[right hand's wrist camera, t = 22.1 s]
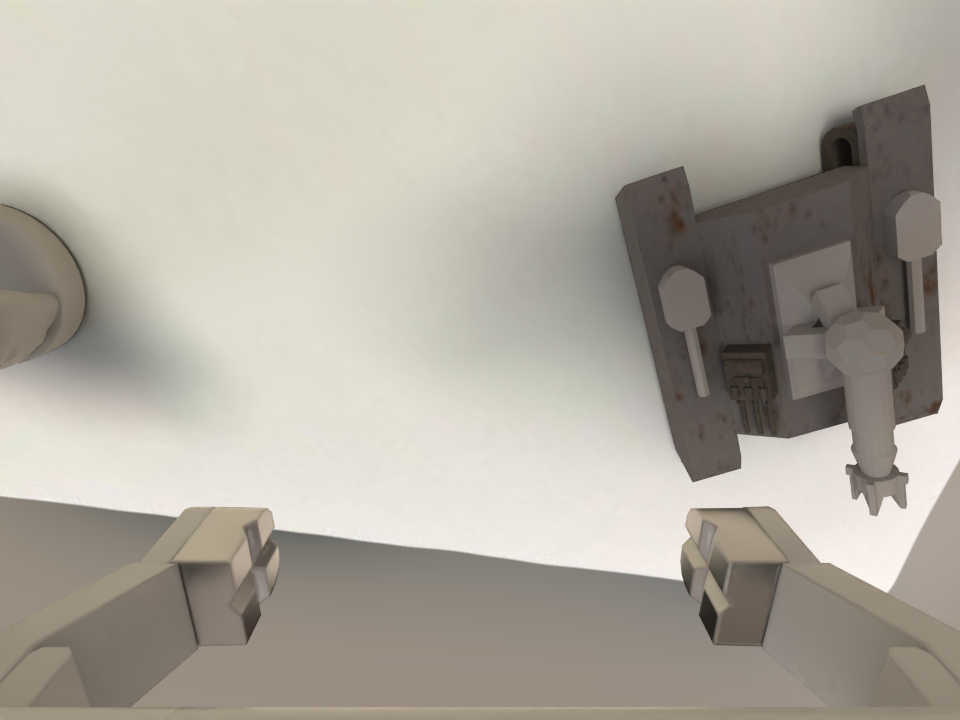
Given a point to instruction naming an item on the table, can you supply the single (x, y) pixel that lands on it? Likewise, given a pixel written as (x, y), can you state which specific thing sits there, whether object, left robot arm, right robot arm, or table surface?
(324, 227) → the table surface
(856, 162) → the toy
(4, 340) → the bust sculpture
